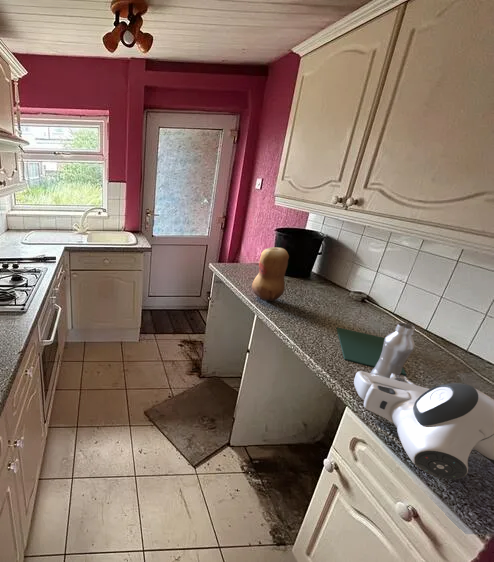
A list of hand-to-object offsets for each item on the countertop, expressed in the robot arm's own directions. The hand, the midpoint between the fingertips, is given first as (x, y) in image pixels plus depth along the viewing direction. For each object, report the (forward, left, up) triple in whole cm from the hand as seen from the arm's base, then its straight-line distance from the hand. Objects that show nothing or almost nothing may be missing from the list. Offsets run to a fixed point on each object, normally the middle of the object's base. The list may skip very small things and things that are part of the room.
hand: (397, 377), depth 82 cm
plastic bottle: (-3, -6, -8) cm, 11 cm away
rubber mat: (-14, -25, -8) cm, 30 cm away
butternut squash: (+3, -66, -8) cm, 66 cm away
